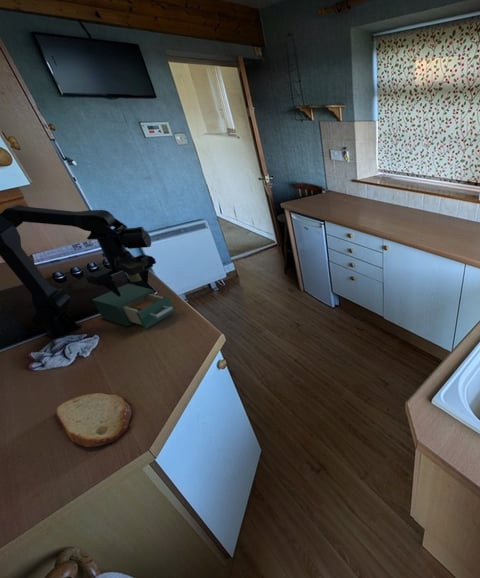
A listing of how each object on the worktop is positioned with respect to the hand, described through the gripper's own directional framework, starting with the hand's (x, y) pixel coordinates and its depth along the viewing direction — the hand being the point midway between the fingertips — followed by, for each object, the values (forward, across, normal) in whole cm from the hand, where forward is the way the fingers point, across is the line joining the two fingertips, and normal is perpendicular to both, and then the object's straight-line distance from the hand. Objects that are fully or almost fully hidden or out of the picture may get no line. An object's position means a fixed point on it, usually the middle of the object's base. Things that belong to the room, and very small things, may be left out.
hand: (133, 290), depth 105 cm
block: (+10, 0, -3) cm, 11 cm away
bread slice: (+12, -36, -31) cm, 49 cm away
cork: (+12, +20, +34) cm, 41 cm away
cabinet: (+12, 0, +8) cm, 14 cm away
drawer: (+11, 0, -4) cm, 12 cm away
